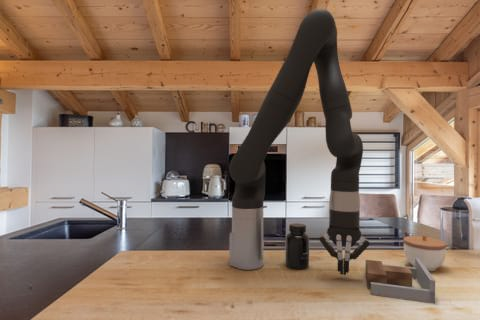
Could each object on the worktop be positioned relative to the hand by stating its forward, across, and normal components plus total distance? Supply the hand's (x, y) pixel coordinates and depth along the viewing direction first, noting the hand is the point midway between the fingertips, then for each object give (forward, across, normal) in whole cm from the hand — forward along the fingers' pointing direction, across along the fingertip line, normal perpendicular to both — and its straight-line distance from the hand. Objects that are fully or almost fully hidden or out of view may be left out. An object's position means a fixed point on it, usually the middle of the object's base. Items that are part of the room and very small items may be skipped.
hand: (343, 273), depth 81 cm
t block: (+1, +11, 0) cm, 11 cm away
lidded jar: (+2, +22, +17) cm, 28 cm away
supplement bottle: (+2, -13, +6) cm, 14 cm away
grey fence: (+1, +13, 0) cm, 13 cm away
